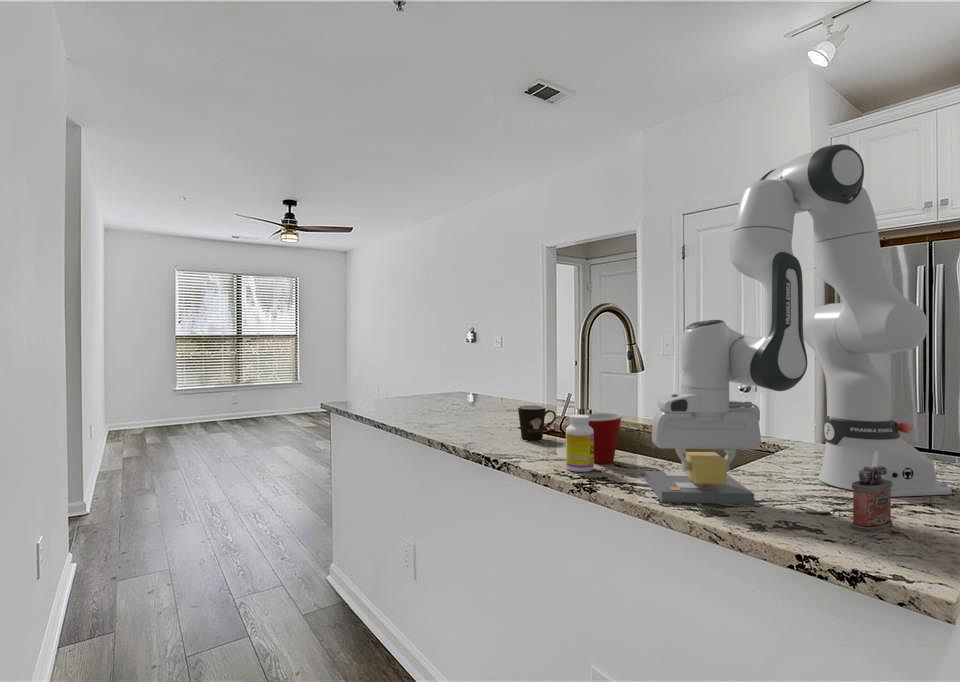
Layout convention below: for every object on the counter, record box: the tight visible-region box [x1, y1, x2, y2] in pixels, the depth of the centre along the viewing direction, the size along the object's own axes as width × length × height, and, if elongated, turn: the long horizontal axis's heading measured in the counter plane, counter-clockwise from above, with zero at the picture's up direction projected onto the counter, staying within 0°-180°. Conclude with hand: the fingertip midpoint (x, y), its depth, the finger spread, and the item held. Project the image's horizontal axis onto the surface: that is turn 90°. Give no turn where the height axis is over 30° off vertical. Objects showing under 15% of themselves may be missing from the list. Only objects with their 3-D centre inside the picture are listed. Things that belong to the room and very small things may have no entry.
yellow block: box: [685, 451, 728, 484], centre depth 103 cm, size 6×7×5 cm
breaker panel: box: [644, 470, 755, 505], centre depth 106 cm, size 17×15×2 cm
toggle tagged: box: [700, 483, 713, 486], centre depth 103 cm, size 2×3×2 cm, turn 174°
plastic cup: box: [587, 412, 623, 465], centre depth 132 cm, size 11×11×12 cm
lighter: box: [851, 466, 893, 534], centre depth 86 cm, size 8×3×10 cm, turn 113°
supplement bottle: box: [565, 414, 595, 473], centre depth 124 cm, size 7×7×13 cm
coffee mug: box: [517, 404, 557, 442], centre depth 160 cm, size 12×9×10 cm
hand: (705, 470), depth 103 cm, fingers closed on yellow block, 6 cm apart
